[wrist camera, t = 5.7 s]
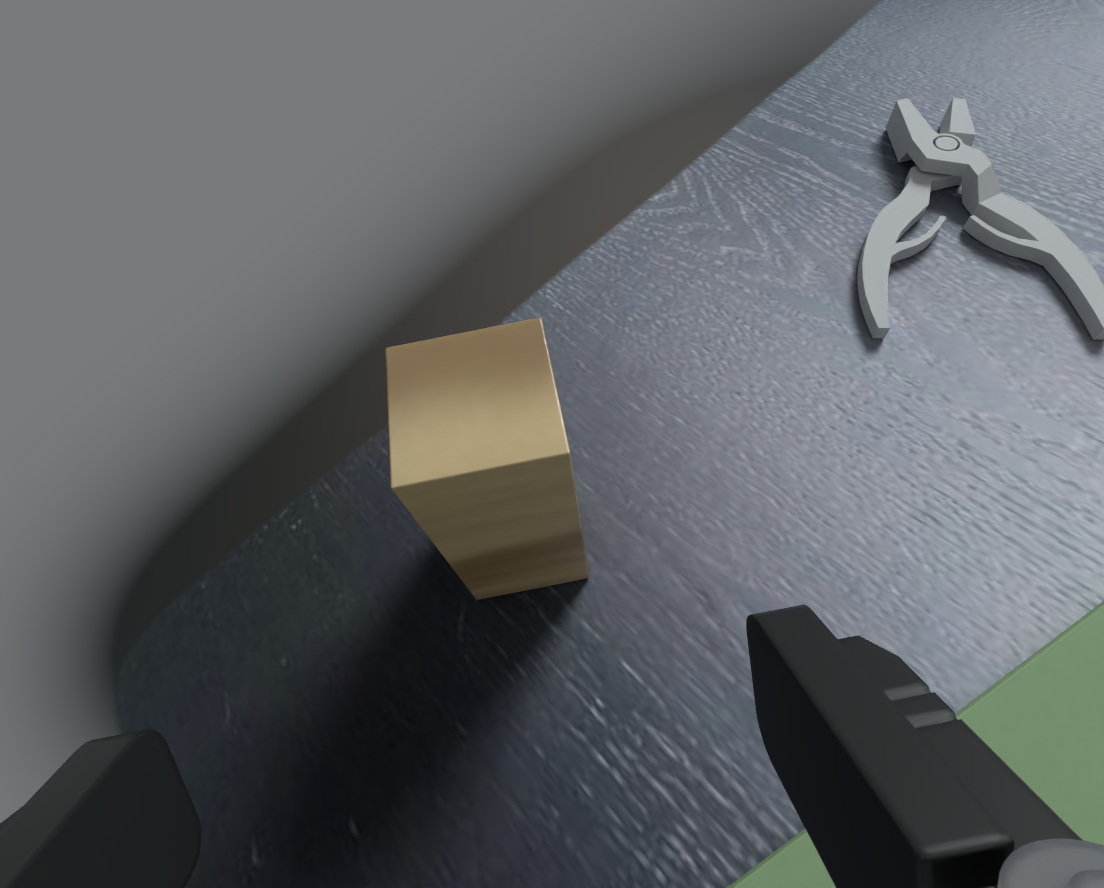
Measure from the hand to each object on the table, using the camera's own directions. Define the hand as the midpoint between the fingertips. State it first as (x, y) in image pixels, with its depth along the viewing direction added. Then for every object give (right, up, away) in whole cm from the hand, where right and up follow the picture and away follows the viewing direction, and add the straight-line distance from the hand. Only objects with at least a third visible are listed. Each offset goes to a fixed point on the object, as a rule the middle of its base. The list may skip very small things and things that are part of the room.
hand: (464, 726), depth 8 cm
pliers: (+21, +15, +22) cm, 34 cm away
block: (0, 0, +16) cm, 16 cm away
